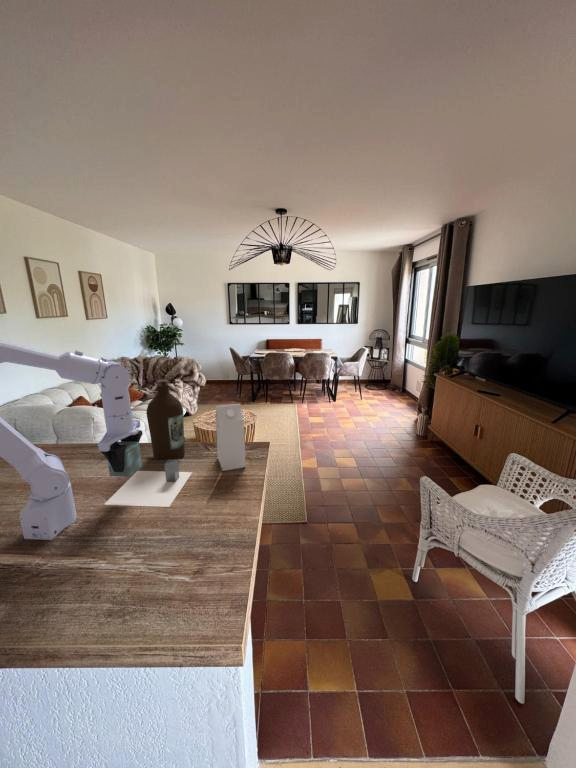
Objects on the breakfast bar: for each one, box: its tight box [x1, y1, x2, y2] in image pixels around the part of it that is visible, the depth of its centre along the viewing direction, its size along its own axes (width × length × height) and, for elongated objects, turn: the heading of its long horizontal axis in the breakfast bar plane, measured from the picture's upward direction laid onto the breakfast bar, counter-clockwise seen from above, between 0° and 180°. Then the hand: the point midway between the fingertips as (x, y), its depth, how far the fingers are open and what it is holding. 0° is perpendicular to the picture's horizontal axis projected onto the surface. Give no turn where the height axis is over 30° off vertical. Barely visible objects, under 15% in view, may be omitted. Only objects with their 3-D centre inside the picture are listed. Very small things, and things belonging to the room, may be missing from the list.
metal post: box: [164, 459, 180, 482], centre depth 88 cm, size 3×3×5 cm
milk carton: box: [214, 403, 246, 472], centre depth 97 cm, size 7×7×19 cm
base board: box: [103, 470, 193, 508], centre depth 85 cm, size 16×16×1 cm
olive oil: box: [145, 379, 186, 461], centre depth 101 cm, size 11×11×25 cm
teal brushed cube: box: [106, 440, 143, 478], centre depth 79 cm, size 5×5×7 cm
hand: (125, 465), depth 80 cm, fingers closed on teal brushed cube, 5 cm apart
